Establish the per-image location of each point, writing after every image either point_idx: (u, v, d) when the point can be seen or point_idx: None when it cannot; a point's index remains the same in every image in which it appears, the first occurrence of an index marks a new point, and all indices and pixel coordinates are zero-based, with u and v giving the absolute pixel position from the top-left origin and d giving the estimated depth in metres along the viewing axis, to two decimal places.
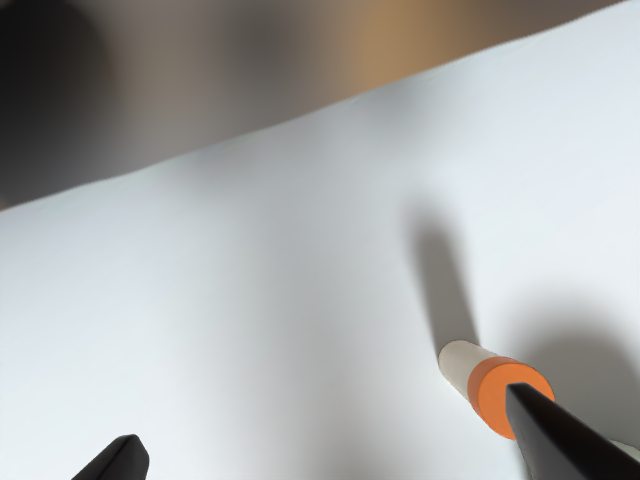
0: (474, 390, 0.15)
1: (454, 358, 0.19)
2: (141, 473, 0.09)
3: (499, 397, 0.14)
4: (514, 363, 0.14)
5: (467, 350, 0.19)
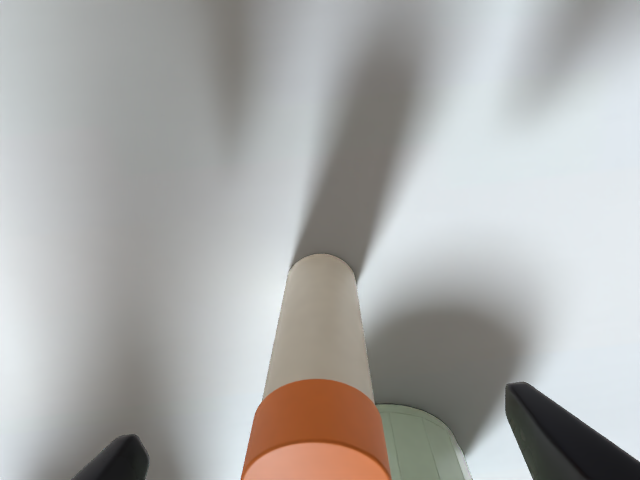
0: (255, 440, 0.07)
1: (297, 301, 0.11)
2: (141, 473, 0.09)
3: None
4: (353, 449, 0.06)
5: (322, 304, 0.10)
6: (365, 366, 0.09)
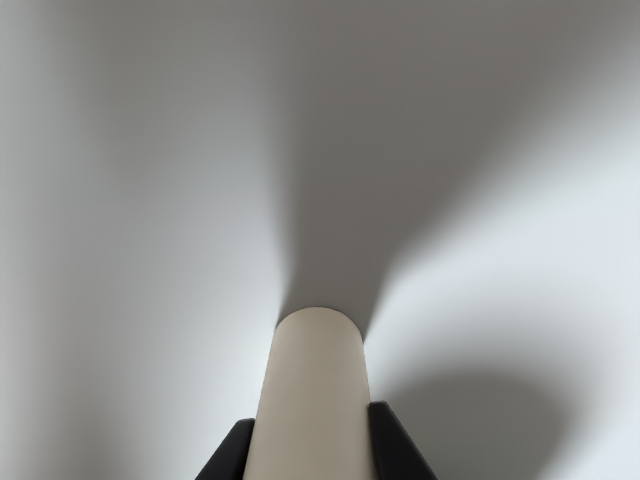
0: None
1: (282, 394, 0.08)
2: None
3: None
4: None
5: (317, 404, 0.07)
6: None
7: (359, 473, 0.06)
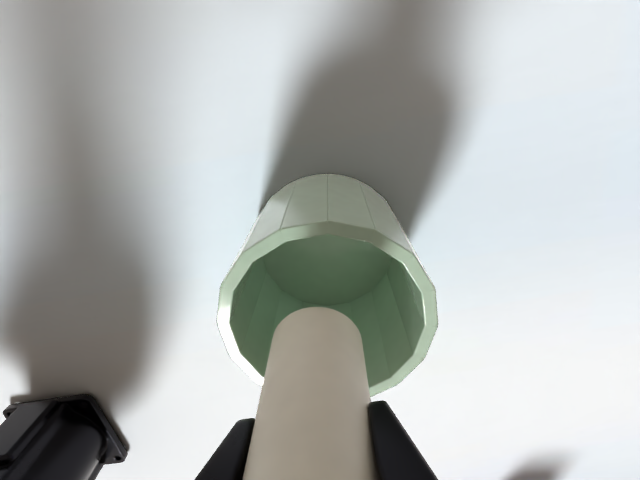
0: None
1: (281, 394, 0.08)
2: None
3: None
4: None
5: (316, 404, 0.07)
6: None
7: (359, 473, 0.06)
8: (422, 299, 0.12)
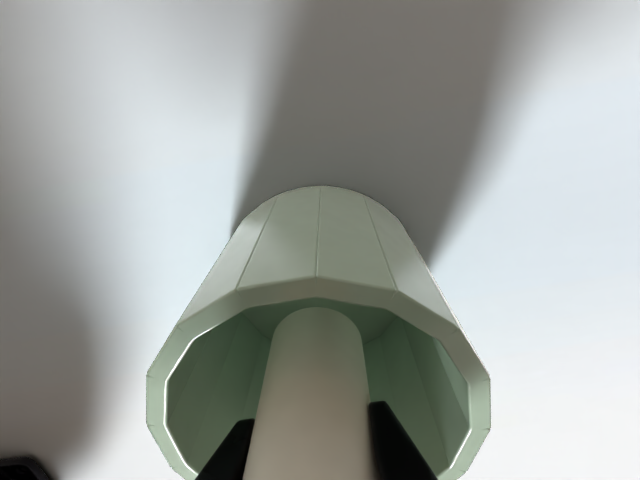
0: None
1: (281, 394, 0.08)
2: None
3: None
4: None
5: (316, 404, 0.07)
6: None
7: (359, 473, 0.06)
8: (468, 392, 0.08)
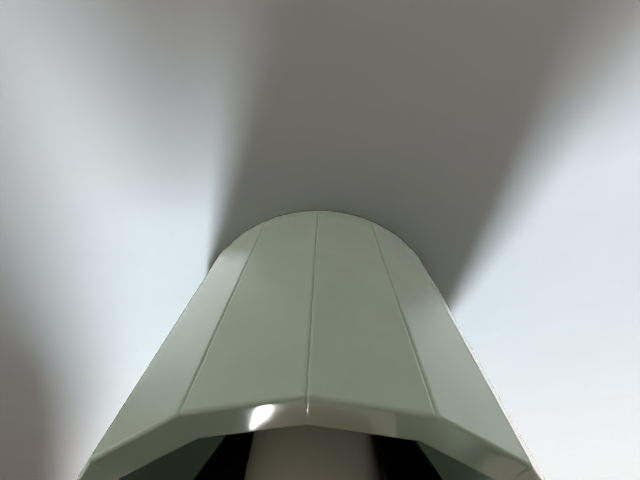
0: None
1: None
2: None
3: None
4: None
5: None
6: None
7: (361, 473, 0.06)
8: None
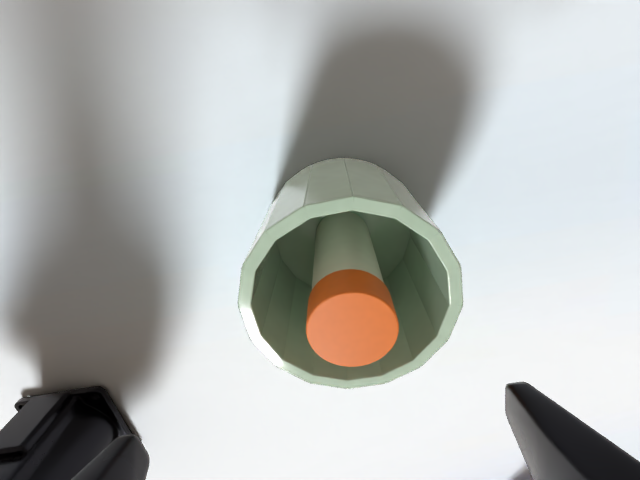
0: (315, 300, 0.11)
1: (329, 237, 0.15)
2: (141, 473, 0.09)
3: (336, 321, 0.11)
4: (376, 297, 0.11)
5: (348, 237, 0.15)
6: (379, 272, 0.13)
7: (369, 256, 0.14)
8: (447, 277, 0.12)
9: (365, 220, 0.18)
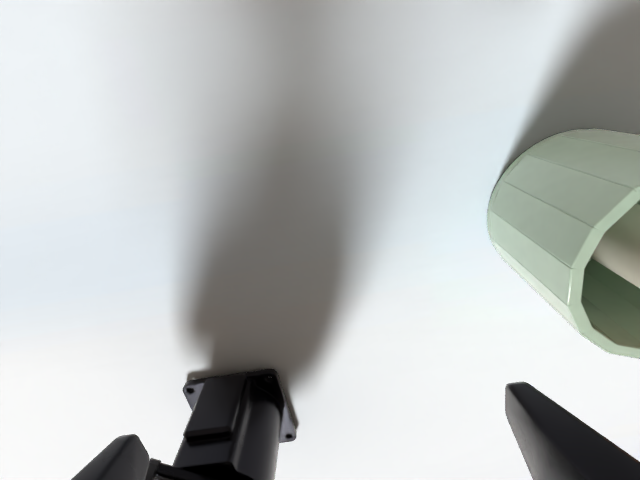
0: None
1: None
2: (141, 473, 0.09)
3: None
4: None
5: (635, 204, 0.14)
6: None
7: None
8: None
9: None
